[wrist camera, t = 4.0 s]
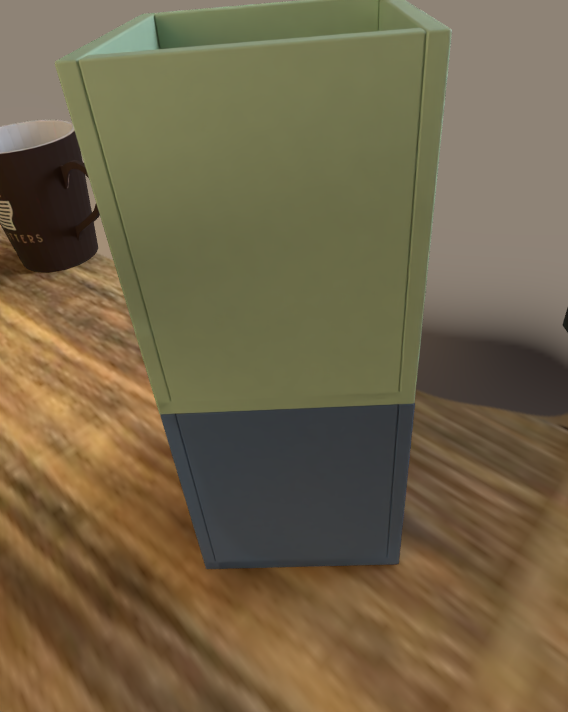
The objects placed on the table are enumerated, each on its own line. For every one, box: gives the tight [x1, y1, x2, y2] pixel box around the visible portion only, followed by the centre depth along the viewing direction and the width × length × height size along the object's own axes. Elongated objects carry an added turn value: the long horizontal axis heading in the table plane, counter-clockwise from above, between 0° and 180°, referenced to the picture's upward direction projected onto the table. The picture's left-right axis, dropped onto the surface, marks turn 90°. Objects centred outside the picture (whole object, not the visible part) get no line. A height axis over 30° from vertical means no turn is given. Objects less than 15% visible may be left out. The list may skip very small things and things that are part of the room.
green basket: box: [55, 0, 452, 414], centre depth 17 cm, size 8×8×10 cm
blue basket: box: [160, 403, 415, 569], centre depth 23 cm, size 8×8×9 cm
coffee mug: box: [0, 120, 100, 272], centre depth 43 cm, size 12×9×10 cm
